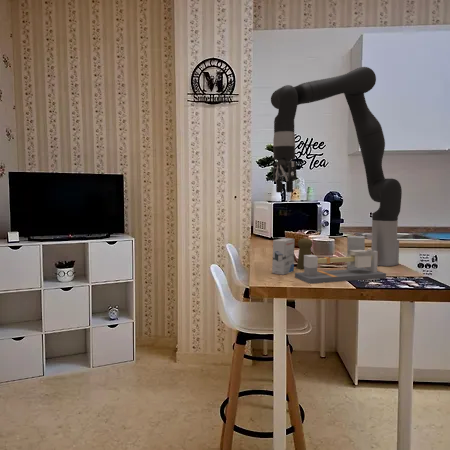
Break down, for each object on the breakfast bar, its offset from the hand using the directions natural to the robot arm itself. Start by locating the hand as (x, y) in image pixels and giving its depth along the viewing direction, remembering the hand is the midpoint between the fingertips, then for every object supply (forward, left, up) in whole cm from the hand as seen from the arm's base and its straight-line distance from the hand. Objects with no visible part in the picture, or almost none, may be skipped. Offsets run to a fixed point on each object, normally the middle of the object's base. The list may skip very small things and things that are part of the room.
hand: (284, 192), depth 145 cm
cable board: (-13, +16, -28) cm, 35 cm away
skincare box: (-27, +4, -28) cm, 39 cm away
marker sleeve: (-20, +16, -25) cm, 35 cm away
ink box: (+1, +2, -28) cm, 28 cm away
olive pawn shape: (-10, -3, -28) cm, 30 cm away
